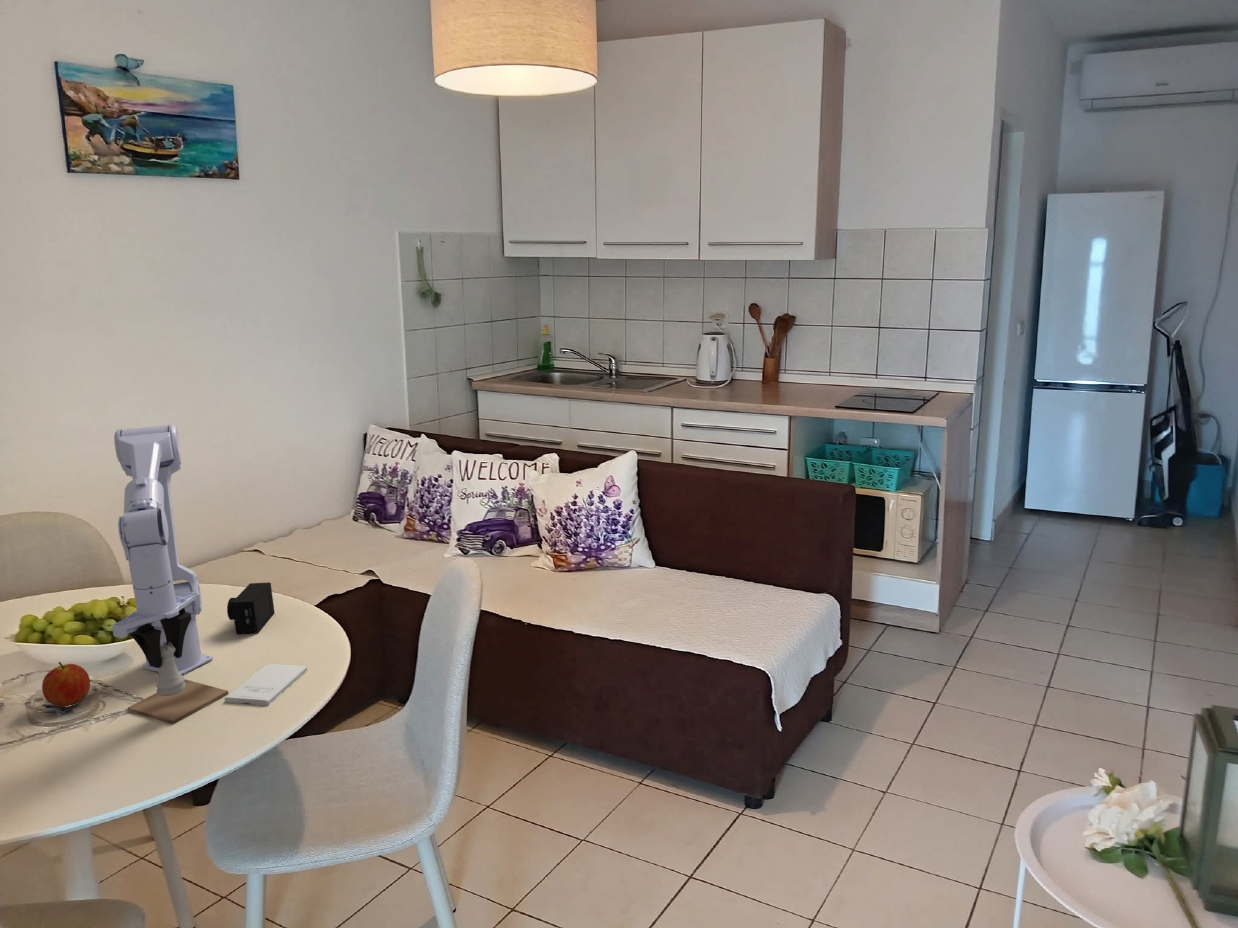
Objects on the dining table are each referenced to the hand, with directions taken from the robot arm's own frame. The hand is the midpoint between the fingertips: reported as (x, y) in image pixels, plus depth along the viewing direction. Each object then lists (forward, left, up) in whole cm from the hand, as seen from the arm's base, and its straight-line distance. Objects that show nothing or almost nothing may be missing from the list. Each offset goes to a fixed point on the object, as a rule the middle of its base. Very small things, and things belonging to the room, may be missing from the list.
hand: (166, 661), depth 153 cm
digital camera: (-17, +32, -10) cm, 37 cm away
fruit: (-19, -5, -10) cm, 22 cm away
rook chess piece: (0, 0, -5) cm, 5 cm away
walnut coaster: (-2, +3, -9) cm, 10 cm away
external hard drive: (+7, +13, -10) cm, 18 cm away
